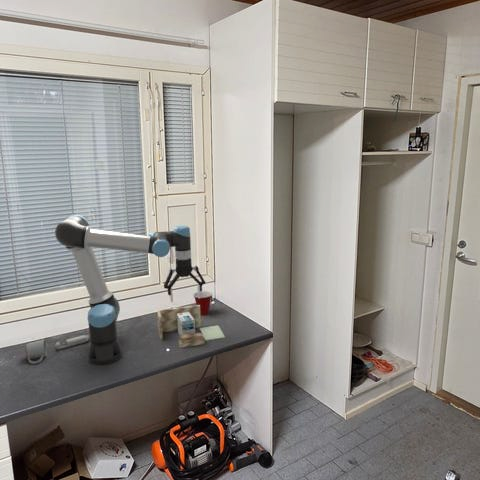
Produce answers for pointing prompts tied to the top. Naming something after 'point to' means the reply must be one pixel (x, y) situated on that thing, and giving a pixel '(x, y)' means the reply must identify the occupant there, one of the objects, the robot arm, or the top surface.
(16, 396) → the top surface
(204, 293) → the plastic cup
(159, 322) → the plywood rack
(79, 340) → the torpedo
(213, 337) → the mat
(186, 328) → the light bulb box
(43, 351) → the ceramic mug
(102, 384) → the top surface
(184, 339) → the offcut stack
